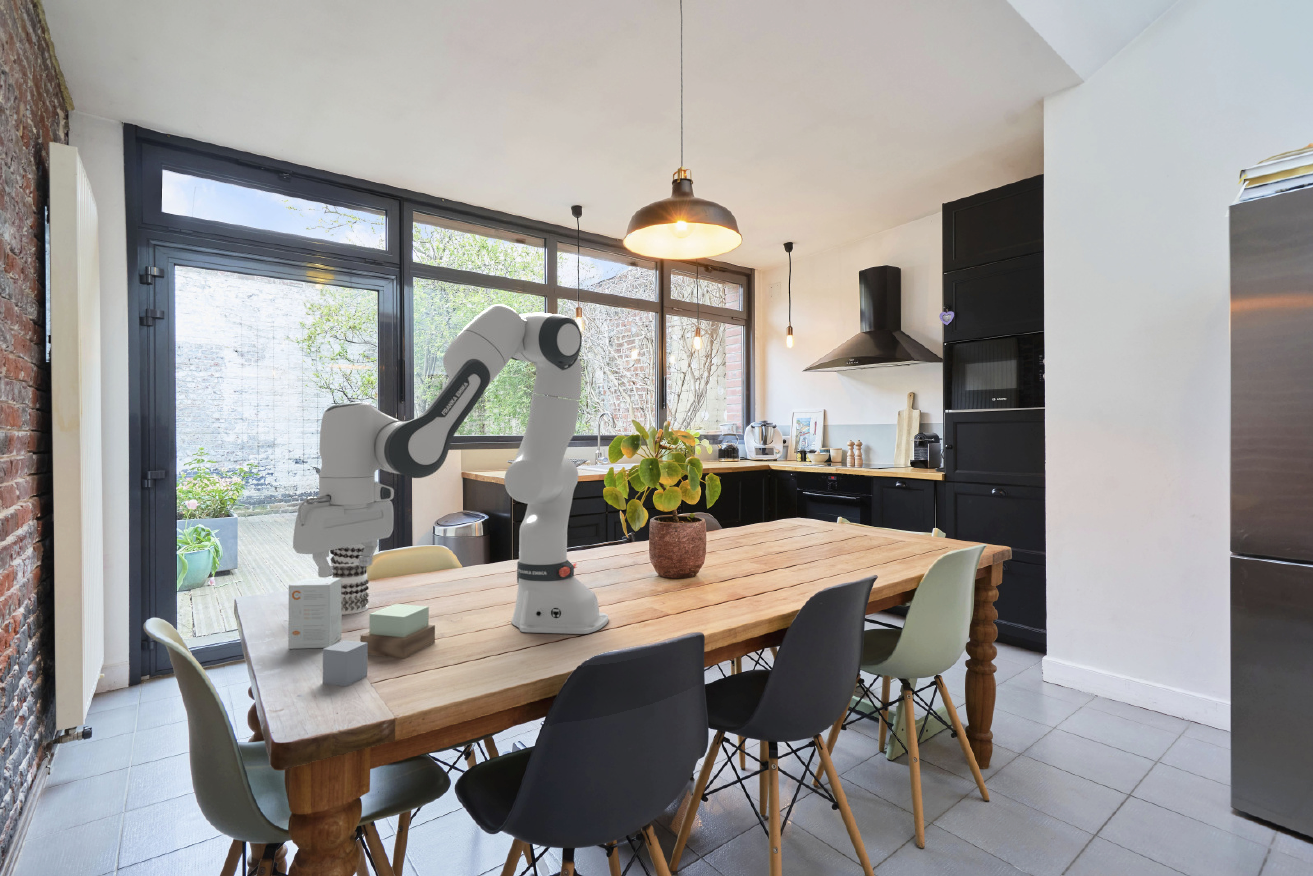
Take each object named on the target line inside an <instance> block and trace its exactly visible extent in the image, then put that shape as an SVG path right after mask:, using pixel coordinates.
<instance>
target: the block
mask: <svg viewBox="0 0 1313 876" xmlns="http://www.w3.org/2000/svg"><path fill="white" fill-rule="evenodd" d="M368 655H369V654H368V643H366V642H360V641H355V640H346V639H344V640H341V641H339V642H336V643H334V644H333V645H331V646H329V647H327V648H323V649H322V684H326V685H334V686H342V687H348V686H350V685H353V684H354V683H356V682H358V681H360V680H362V679H364V678H365V677H368Z"/></svg>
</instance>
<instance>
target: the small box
mask: <svg viewBox="0 0 1313 876" xmlns="http://www.w3.org/2000/svg"><path fill="white" fill-rule="evenodd" d="M342 618H343V617H342V613H341V578H332V577H326V578H323V577H319V578H302V579H301V578H300V580H297V581H295V582H293V583H290V584H289V585H288V624H287V625H288V640H287V641H288V649H289V650H292V649H293V650H296V649H321V648H323V649H324V648H327V647H329V646H331V645H334V644H336V643H338V641H339V640H341V639H342Z"/></svg>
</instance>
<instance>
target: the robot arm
mask: <svg viewBox="0 0 1313 876" xmlns="http://www.w3.org/2000/svg"><path fill="white" fill-rule="evenodd" d="M582 340H583V338H582V332H581V329H580V327H579V325H578V323H577V321H575V320H574V319H573V318H571V317H570V316H567V315H564V314H559V313H554V314H552V313H548V312H547V313H545V312H531V313H518V312H517V311H516V310H515V309H513V308H512V307H510V306H508V305H505V304H492V305H491V306H489V307H488V308H486V309H484V310H482V312H480V313H479V314H478V315H477V316H475V317H474V318H473V319H472V320H470V322H468V324H467V325H466V326H465V327H464V328H463V329H462V330H461V331H460V332H459V333H458V334H457V335H456V337H455V338H454V339H452V341H451V343H450V344H449V345H448V348H447V349H446V351H445V352H444V355H443V361H442V362H443V367H444V370H445V372H446V374H447V376H448V381H447V382H446V384H445V385H444V387H443V388H442V389H441V390H440V391H439V393H438V394H437V396H436V397H435V398H434V399H433V401H432V402H431V403H430V405H429V406H428V407H427V408H426V410H425V411H424V412H423V413H421V414H420V415H419V416H417V417H415V418H413V419H411V420H408V421H401V420H400V419H397V418H395V417H393V416H390V415H388V414H386V413H384V412H382V411H380V410H379V409H377V408H375V407H374V406H373V405H372V404H371V403H370V402H367V401H353V402H345V403H338V404H334V405H331V406H329V407H328V408H327V409H326V410H325V411H324V412H323V415H322V417H321V418H322V419H321V423H320V431H319V454H320V455H319V456H320V458H321V467H320V471H319V474H318V475H319V476H318V496H309V497H305V499H304V500H303V501H302V502H301V503H300V504H299V505H298V507H297V515H296V518H295V522H294V529H293V538H292V539H293V540H292V548H293V550H294V551H295V552H296V553H297V554H301V555H312V560H313V561H314V562H315V564H316V566H317V569H318V570H317V574H318V577H319V578H330V577H332V576H333V565H331V564H330V563H329V560H328V558H329V557H330V550H334V549H338V548H343V547H347V546H352V545H356V544H361V543H363V546H365V547H364V550H363V553H362V556H359V566H364V567H365V566H366V567H368V566H372V565H373V556H374V554H375V552H376V550H377V547H378V540H382V539H387V538H388V539H389V538H390V536H391V535H392V533H393V531H394V520H395V519H394V516H395V515H394V505H393V502H392V501H391V500H392V499H394V495H395V493H394V492H395V490H394V488H393V487H391V486H387V485H384V484H382V483H379V482H377V481H375V480H376V479H375V478H376V477H375V475H376V471H377V470H383V471H385V472H389V473H393V474H398V475H403V476H404V477H408V478H411V479H421V478H426V477H429V476H431V475H433V474H435V473H436V472H437V471H438V470H440V469H441V467H442V466H443V464H444V463H445V462H446V459H447V456H448V454H449V450H450V447H451V444H452V441H453V439H454V436H455V434H456V432H457V431H458V430H459V429H460V427H461V425H462V424H463V423H464V421H465V420H466V418H467V417H468V416H469V415H470V413H471V411H472V410H473V409H474V407H475V405H477V403H478V402H479V400H480V399H481V397H482V396H483V395H484V393H485V391H486V390H487V388H488V387H489V385H490V384H491V383H493V381H494V380H495V379H496V378H497V376H498V375H499V374H500V373H501V372H502V371H503V370H504V368H505V367H506V365H507V364H508V363H509V362H510V360H514V361H522V362H526V363H531V364H532V363H533V364H534V367H535V371H536V376H535V379H534V384H533V389H532V395H531V401H530V406H529V407H530V408H529V415H528V420H527V423H526V428H525V432H524V435H523V438H522V440H521V443H520V445H519V448H518V450H517V453H516V456H515V458H514V460H513V462H512V463H511V464H510V465H509V467H508V468H507V470H506V471H505V475H504V488H505V490H506V492H507V494H508V495H509V496H510V497H511V498H512V499H513V500H515V501H516V502H520V503H524V504H527V506H526V510H525V515H524V517H523V520H522V522H521V523H520V525H519V539H518V541H519V545H518V547H519V548H518V550H519V551H518V559H519V560H518V561H517V562H516V563H517V564H516V565H517V566H516V568H517V569H516V582H517V595H516V602H515V607H514V612H513V615H512V618H511V620H510V621H511V624H512V625H514V626H515V627H517V628H518V629H519V631H520V632H522V633H536V634H537V633H539V634H540V633H541V634H569V635H570V634H573V635H574V634H575V635H586V634H591V633H593V632H594V633H595V632H597V631H598V630H600V629H602V628H604V626H606V625H607V623H608V622H609V615H608V613H605V612H600V607H599V601H598V597H597V595H596V593H595V592H594V591H592V590H591V589H590V588H589V587H588V586H586V585H585V584H584V583H582V581H580V580H579V579H578V578H577V577H575V576H574V575H575V569H576V568H577V562H576V563H573V564H572V562H570V561H569V560H568V559H567V558H568V555H567V554H568V525H569V519H570V512H571V508H572V504H573V498H574V497H573V496H574V491H575V489H576V486H577V484H578V482H579V471H578V468H577V466H576V464H575V463H574V462H573V461H571V460H570V459H569V458H567V457H565V455H566V451H567V449H568V446H569V444H570V441H571V440H572V439H573V437H574V435H575V433H576V426H577V420H578V414H579V407H580V402H581V401H580V400H581V394H582V393H581V392H582V378H583V377H582V363H581V360H580V358H579V356H580V353H581V349H582V342H583V341H582Z"/></svg>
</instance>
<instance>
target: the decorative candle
mask: <svg viewBox="0 0 1313 876" xmlns="http://www.w3.org/2000/svg"><path fill="white" fill-rule="evenodd" d="M364 547H365V546H363V543H361V544H356V545H352V546H347V547H343V548H338V549H334V550H329V555H330V554H331V555H332V556H331V558H330V565H331V566H333V575H332V576H331V578H341V613H342V615H343V616H344V615H352V614H353V615H354V614H357V613H362V612H365V611H367V610H368V609H369V605H368V604H369V601H370V600H369V599H368V598H369V596H370V594H369V592H367V591H368V590H369V586H368V584H369V582H370V581H369V579H368V572H367V566H365V567H364V566H359V556H362V553H363V550H364Z"/></svg>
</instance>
